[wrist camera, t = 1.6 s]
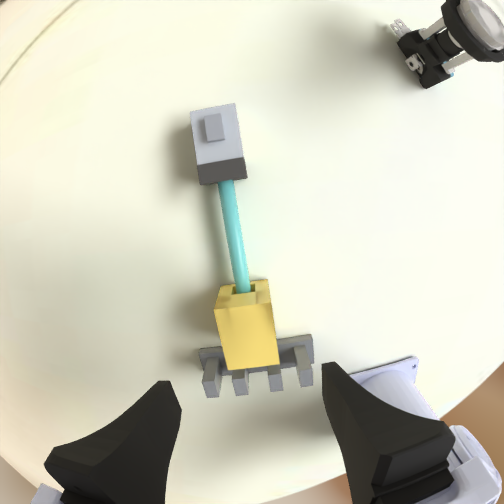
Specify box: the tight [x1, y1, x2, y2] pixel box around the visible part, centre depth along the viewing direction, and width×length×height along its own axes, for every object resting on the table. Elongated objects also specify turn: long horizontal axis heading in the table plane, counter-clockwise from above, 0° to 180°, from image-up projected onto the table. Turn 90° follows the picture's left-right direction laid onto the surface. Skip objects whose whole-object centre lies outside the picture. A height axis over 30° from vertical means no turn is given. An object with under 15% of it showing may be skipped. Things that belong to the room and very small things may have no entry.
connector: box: [190, 103, 245, 165], centre depth 17 cm, size 4×3×3 cm
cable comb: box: [199, 334, 314, 398], centre depth 20 cm, size 2×9×4 cm, turn 99°
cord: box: [217, 180, 251, 294], centre depth 19 cm, size 16×1×1 cm, turn 9°
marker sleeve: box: [214, 279, 280, 370], centre depth 19 cm, size 4×3×4 cm
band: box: [197, 157, 247, 185], centre depth 18 cm, size 1×3×3 cm, turn 98°
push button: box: [390, 0, 504, 89], centre depth 11 cm, size 7×5×10 cm
